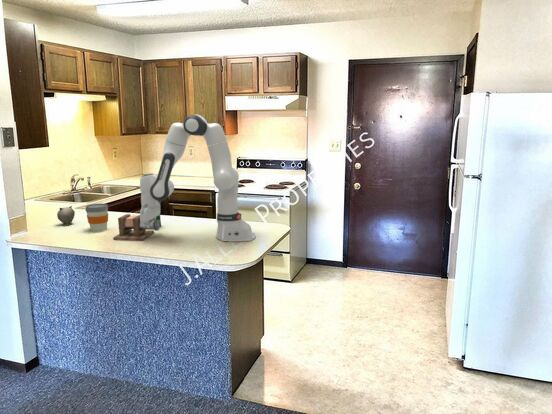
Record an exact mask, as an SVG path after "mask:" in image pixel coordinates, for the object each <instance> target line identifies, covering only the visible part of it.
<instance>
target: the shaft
mask: <svg viewBox="0 0 552 414" xmlns="http://www.w3.org/2000/svg"><path fill="white" fill-rule="evenodd" d="M124 222H125V229H132V230H133V227H131V226H126V220H125V221H124ZM149 223H150V225H151V228H147V225H146V223H141V221H139V229H146V230H148V231H157V232H158V231H159V230H160V229H161V227H160V222H159V220H155V221H150V222H149Z"/></svg>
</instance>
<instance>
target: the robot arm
mask: <svg viewBox="0 0 552 414" xmlns="http://www.w3.org/2000/svg"><path fill="white" fill-rule="evenodd" d="M191 136H196V137H197V136H199V137H203V138H204V140H205V143H206V146H207V147H206V148H207V150H208V153H209V158H210V163H211V168H212V176H213V184H214V186H215V187H216V188H217V190H218V191H217V192H218V194H217V202H216V203H217V213H216V222H217V230H216V235H215V239H216V240H220V241H222V242H223V241H228V242H231V243H232V242H251V241H254V240H255V239H256V237H257V234H256V232H253V230H252V227H251V225H250V224H249V223H247V221H245V220H243V219H242V213H240V212H239V209H238V194H239V180H240V179H239V173H238V170H236V168H234V167H233V164H232V155H231V151H230V148H229V142H228V140H227V137H226V134H225V131H224V129H223V127H222V126H221V124H219V123H215V122H212V123H209V121H208V120H207V118H206V117H205V116H203V115H200V114H196V113H195V114H190V115H187V116H186V117H185V118H184V120H183V122H174V123H172V124H171V126H170V128H169V129H168V131H167V135H166V137H165V142H164V146H163V153H162V159H161V163H160V166H159V168H158V169H159V170H158V173H157V174H155V173H147V174H143V175H142V176H141V177H140V178H139V179H140V181H139V190H140V195H141V196H140V203H141V205H140V206H141V209H140V211H139V215H140V221H141V223H146V225H147V228H151V225H150V223H149V222H150V220H152V221H155V220H156V217H157V216H158V215H160V216H161V202H163V201H166V200H167V198H168V197H170V196H171V195H172V194H173V192H174V191H175V185H174V182H173V181H172V180H170V178H171V174H172V171H173V169H174V167H175V165H176V164H177V162H178V161H179V160H180V159H181V158H182V157H183V155H184V153H185V150H186V146H187V144H188V140H189V138H190V137H191Z"/></svg>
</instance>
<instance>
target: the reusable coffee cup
mask: <svg viewBox="0 0 552 414" xmlns="http://www.w3.org/2000/svg"><path fill="white" fill-rule="evenodd" d="M108 206H109V205H108V204H107V203H93V204H88V205H85V212H86V218H87V222H88V224H89V228H90V231H91V232H93V233H95V232H96V233H97V232H98V233H101V232H105V231H107V230H108V222H109V213H108V212H109V211H108V210H109V207H108Z"/></svg>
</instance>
